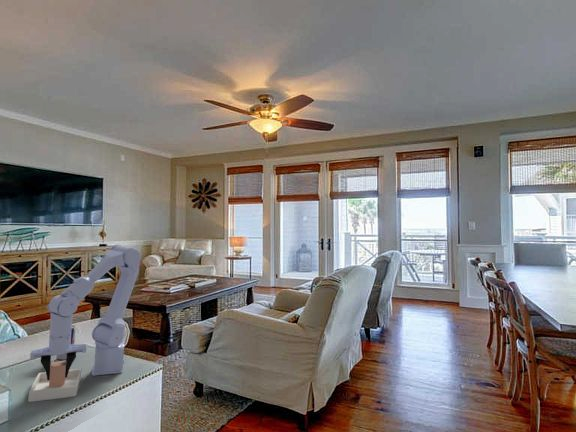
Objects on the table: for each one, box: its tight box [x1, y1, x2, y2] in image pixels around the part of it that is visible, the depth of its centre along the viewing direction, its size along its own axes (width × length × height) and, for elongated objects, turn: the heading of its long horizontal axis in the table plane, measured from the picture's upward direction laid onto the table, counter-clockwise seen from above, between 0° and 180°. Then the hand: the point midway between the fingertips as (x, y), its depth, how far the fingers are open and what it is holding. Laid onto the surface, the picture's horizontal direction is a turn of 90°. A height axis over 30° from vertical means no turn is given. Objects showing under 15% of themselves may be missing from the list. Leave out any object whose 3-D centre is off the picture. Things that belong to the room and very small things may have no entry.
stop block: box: [49, 360, 66, 387], centre depth 110 cm, size 4×4×6 cm
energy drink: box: [55, 324, 77, 362], centre depth 129 cm, size 5×5×12 cm
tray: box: [27, 368, 83, 403], centre depth 109 cm, size 12×12×3 cm
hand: (57, 377), depth 109 cm, fingers closed on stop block, 4 cm apart
